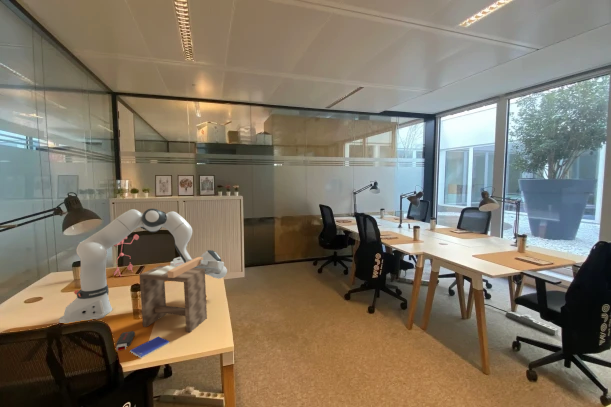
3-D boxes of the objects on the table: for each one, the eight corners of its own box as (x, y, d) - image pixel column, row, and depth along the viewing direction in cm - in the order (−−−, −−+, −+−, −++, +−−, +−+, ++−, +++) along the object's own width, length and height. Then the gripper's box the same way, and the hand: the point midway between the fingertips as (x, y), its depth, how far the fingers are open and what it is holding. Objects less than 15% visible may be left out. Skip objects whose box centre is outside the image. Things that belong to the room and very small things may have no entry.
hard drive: (140, 355, 117) (169, 341, 128) (129, 349, 122) (157, 335, 132) (141, 359, 118) (169, 344, 128) (129, 353, 122) (158, 339, 132)
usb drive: (135, 335, 136) (134, 329, 135) (128, 349, 124) (127, 343, 124) (122, 337, 134) (121, 331, 134) (114, 352, 123) (113, 345, 122)
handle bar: (173, 277, 135) (173, 271, 134) (167, 277, 135) (167, 271, 135) (203, 262, 158) (203, 257, 158) (198, 262, 159) (198, 256, 158)
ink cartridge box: (182, 274, 218) (181, 255, 217) (185, 275, 215) (184, 256, 214) (170, 277, 211) (169, 257, 210) (174, 279, 208) (173, 258, 207)
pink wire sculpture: (144, 269, 231) (140, 225, 227) (109, 280, 208) (104, 231, 205) (132, 267, 238) (128, 224, 235) (97, 277, 215) (92, 229, 212)
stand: (190, 332, 136) (187, 277, 134) (142, 326, 143) (139, 273, 140) (206, 318, 150) (204, 267, 148) (163, 313, 156) (160, 264, 154)
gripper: (194, 260, 170) (180, 254, 158) (226, 262, 165) (215, 256, 153) (191, 271, 168) (177, 265, 155) (224, 273, 163) (212, 268, 151)
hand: (196, 261), depth 154 cm, fingers closed on handle bar, 3 cm apart
